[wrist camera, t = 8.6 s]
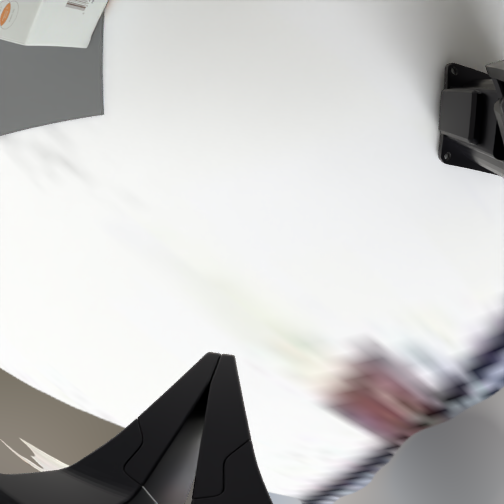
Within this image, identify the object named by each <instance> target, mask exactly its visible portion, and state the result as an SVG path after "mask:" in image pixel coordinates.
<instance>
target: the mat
mask: <svg viewBox="0 0 504 504" xmlns="http://www.w3.org/2000/svg"><path fill="white" fill-rule="evenodd" d="M103 17H104V10H103V12H102V14H101V16H100V18H99V20H98V22H97V25H96V27H95V29H94V31H93V34H92V36H91V40H90V42H89V45H88V47H87V48H77V47H62V46H27V45H21V44H17V43H13V42H9V41H6V40H2V39H0V136H2V135H6V134H9V133H13V132H17V131H21V130H25V129H29V128H34V127H38V126H43V125H47V124H52V123H57V122H62V121H67V120H73V119H79V118H85V117H91V116H97V115H104V112H103V85H102V42H103Z"/></svg>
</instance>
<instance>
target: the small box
mask: <svg viewBox="0 0 504 504" xmlns="http://www.w3.org/2000/svg"><path fill="white" fill-rule="evenodd" d="M107 2H108V0H0V39H2V40H6V41H9V42H13V43H17V44H21V45H27V46H62V47H77V48H87V47H88V45H89V42H90V40H91V36H92V34H93V31H94V29H95V27H96V25H97V22H98V20H99V18H100V16H101V14H102V12H103V10H104V8H105V6H106V4H107Z"/></svg>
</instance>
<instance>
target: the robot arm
mask: <svg viewBox="0 0 504 504" xmlns="http://www.w3.org/2000/svg"><path fill="white" fill-rule="evenodd" d="M485 67H486V69H487V72H488V74H489V75H488V74H485V73H483V72H480V71H477V70H474V69H471V68H468V67H465V66H462V65H459V64H455V63H450V64H447V65H446V67H445V87H444V90H443V91H442V93H441V108H440V120H439V130H440V132H441V137H440V146H439V153H438V155H439V159H440V160H441V162H443V163H445V164H449V165H454V166H459V167H464V168H469V169H473V170H478V171H482V172H487V173H491V174H495V175H499V176H501V177H503V178H504V60H502V61H499V62H495V63H492V64H489V65H486V66H485ZM452 68H454V69H455V74H453V73H452V72H451V69H452ZM446 152H448V158H447V159H445V158H444V155H445V153H446ZM195 474H196V475H195ZM194 477H195V482H194V489H193V495H192V502H191V504H273V503H272V501H271V498H270V496H269V493H268V491H267V489H266V486H265V484H264V482H263V479H262V476H261V474H260V471H259V468H258V465H257V461H256V457H255V454H254V449H253V445H252V441H251V436H250V431H249V426H248V421H247V416H246V411H245V406H244V401H243V396H242V391H241V386H240V381H239V376H238V370H237V365H236V360H235V356H234V355H229V354H222V355H221V354H220V353H213V352H208V353H207V354H205V355H204V356H203V357H202V358H201V359H200V360H199V361H198V362H197V363H196V364H195V365H194V366H193V367H192V368H191V369H190V370H189V371H188V372H186V373H185V374H184V375H183V376H182V377H181V378H180V379H179V380H178V381H177V382H176V383H175V384H174V385H173V386H171V387H170V388H169V389H168V390H167V391H166V392H165V393H164V394H163V395H162V396H161V397H160V398H158V399H157V400H156V401H155V402H154V403H153V404H152V405H151V406H150V407H149V408H148V409H146V410H145V411H144V412H143V413H142V414H141V415H140V416H139V417H138V419H135V420H134V421H133V422H132V423H131V424H130V425H128V426H127V427H126V428H125V429H124V430H123V431H121V432H120V433H119V434H118V435H116V436H115V437H114V438H112V439H111V440H110V441H109V442H107V443H105V444H104V445H102V446H101V447H99V448H98V449H96V450H95V451H93V452H92V453H91V454H89V455H87V456H86V457H84V458H83V459H81V460H80V461H78V462H77V463H75V464H73V465H71V466H69V467H66V468H63V469H60V470H53V471H45V472H35V473H22V474H0V504H185V502H186V500H187V497H188V494H189V491H190V488H191V485H192V483H193V480H194Z"/></svg>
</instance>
